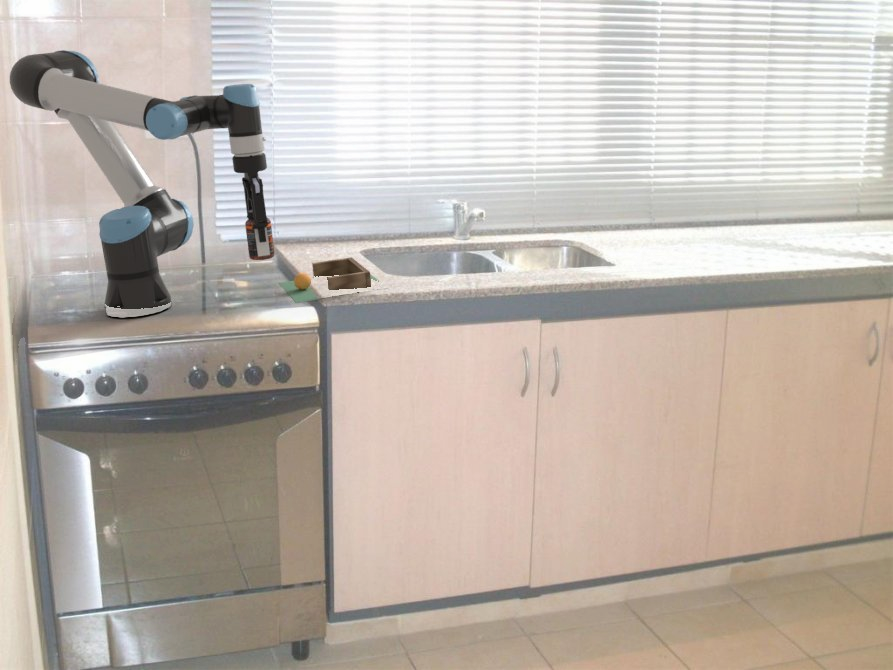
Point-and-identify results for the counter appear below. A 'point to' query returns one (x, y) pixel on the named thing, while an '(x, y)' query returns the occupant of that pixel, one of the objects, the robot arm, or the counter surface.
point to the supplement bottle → (252, 239)
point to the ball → (302, 281)
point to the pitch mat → (302, 291)
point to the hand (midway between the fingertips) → (261, 252)
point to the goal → (343, 274)
